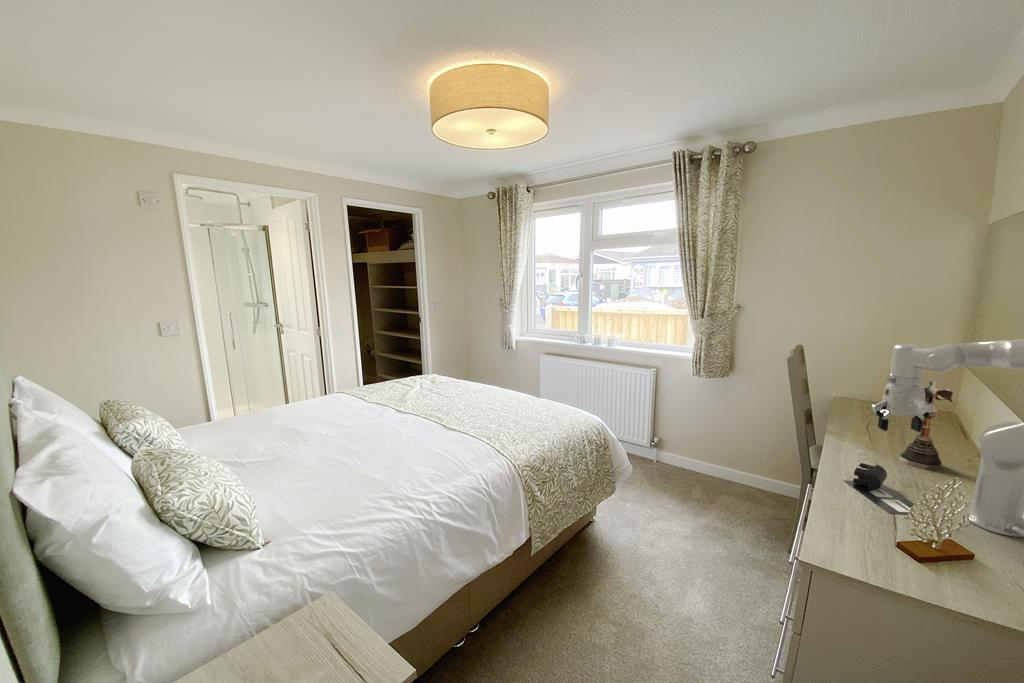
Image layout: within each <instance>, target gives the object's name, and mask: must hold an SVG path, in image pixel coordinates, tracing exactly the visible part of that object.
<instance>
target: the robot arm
mask: <svg viewBox="0 0 1024 683" xmlns="http://www.w3.org/2000/svg"><path fill="white" fill-rule="evenodd" d="M891 354H892V357H891V365H890V371H889V372H890V373H889V376H888V377H886V378H885V381H886V382H888V383H886V385H885V388H884V390H883V395H882V398H881V400H880V401H879V402H876V403H874V404H872V405H871V406H870V407H871V409H872V411H873V413H874V414H875V415H876V417H878V423H877V427H878V428H879V429H880V430H882V431H884V432H887V431H888V429H889V417H890V416H900V417H901V416H903V417H908V416H909V417H912V418H911V421H910V429H911V430H913V431H915V432H917V433H921V428H922V421H924V420H925V418H926V417H927V416H929V415H930V412H931V411H932V410H933V407H931V406H929V405H927V404H925V402H926V401H925V391H924V387H925V386H923V385H922V380H923V371H924V370H926V371H927V370H928V371H931V372H937V373H938V372H941V373H942V372H948V371H950V370H953V369H954V368H964V367H965V368H969V367H971V368H972V367H997V368H998V367H999V368H1003V369H1007V370H1016V371H1017V370H1024V338H1020V339H1019V338H1018V339H1005V340H996V341H993V340H992V341H979V342H966V343H965V342H964V343H950V344H942V345H938V346H936V347H924V346H922V345H920V344H914V343H913V344H912V343H898V344H896V345H894V346H893V348H892V353H891ZM880 409H881V410H880ZM977 447H978V450H979V451H980V453H981V456H980V458H979V460H980V461H979V465H978V470H977V475H976V479H975V480H976V481H975V486H974V490H973V496H972V501H971V502H972V503H971V507H967V508H968V510H969V521H968V522H969V523H971V524H972V525H975V526H977V527H980V528H981V529H985V530H986V531H989V532H993V533H996V534H1000V535H1004V536H1008V537H1014V538H1015V537H1017V538H1019V537H1020V538H1023V537H1024V421H1023V422H1019V421H1018V422H1017V421H1009V420H1007V421H1006V420H1005V421H1000V422H995V423H993V424H992V425H990V426H988V427H987V428H986V429H985V430H984V431H983V432H982V433H981V434H980V435H979V437H978V439H977Z"/></svg>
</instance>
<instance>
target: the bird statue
mask: <svg viewBox="0 0 1024 683" xmlns="http://www.w3.org/2000/svg"><path fill="white" fill-rule="evenodd" d="M923 387H924V391H925V404H927V405H929V406H931V407H933V410H932V411H931V412H930V415H929V416H927V417H926V418H925V420H924V421H922V428H921V432H920V434H918V435H916V436H915V439H914V441H912V442H911V443H910V444H909V445H908V446H906V449H905V451H904V452H902V453H900V454H899V456H898V460H899V461H900V462H903V463H904V464H906V465H908V466H911V467H915V468H918V469H923V470H931V471H933V470H934V471H940V470H941V468H942V465H943V462H942V460H941V459H940V457H939V452H938V451H937V450H938V449H937V448H935V445H934V443H933V441H934V439H932V438H931V436H930V429H932V427H931V425H932V419H933V418H936V417H937V413H939V410H938V409H937V407H936V404H934V403H935V402H936V401H937V400H938V401H943V400H946V401H949V402H951V403H952V404H954V402H953V398H952V397H953V394H954V392H953V390H952V389H948V388H946V389H938V388H936V380H935V379H931V378H930V379H929V386H928V387H925V386H923Z"/></svg>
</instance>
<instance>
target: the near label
mask: <svg viewBox="0 0 1024 683" xmlns="http://www.w3.org/2000/svg"><path fill="white" fill-rule="evenodd" d="M881 500H882V501H884V502H885V503H887V504H888V505H890V506H891V507H893V508H894V509H896V510H897V511H899V512H909V510H910V509H911V508H909V507H908V506H906V505H905V504H903V503H902V502H900V501H898V500H888V499H881Z"/></svg>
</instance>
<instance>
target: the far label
mask: <svg viewBox="0 0 1024 683" xmlns="http://www.w3.org/2000/svg"><path fill="white" fill-rule="evenodd" d="M869 492H871V493H872V494H874V495H875V496H877V497H891V498H894V497H892V496H891V495H889V494H888V493H886V492H885V491H883V490H882V489H880V488H879V489H877V490H873V491H869Z"/></svg>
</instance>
